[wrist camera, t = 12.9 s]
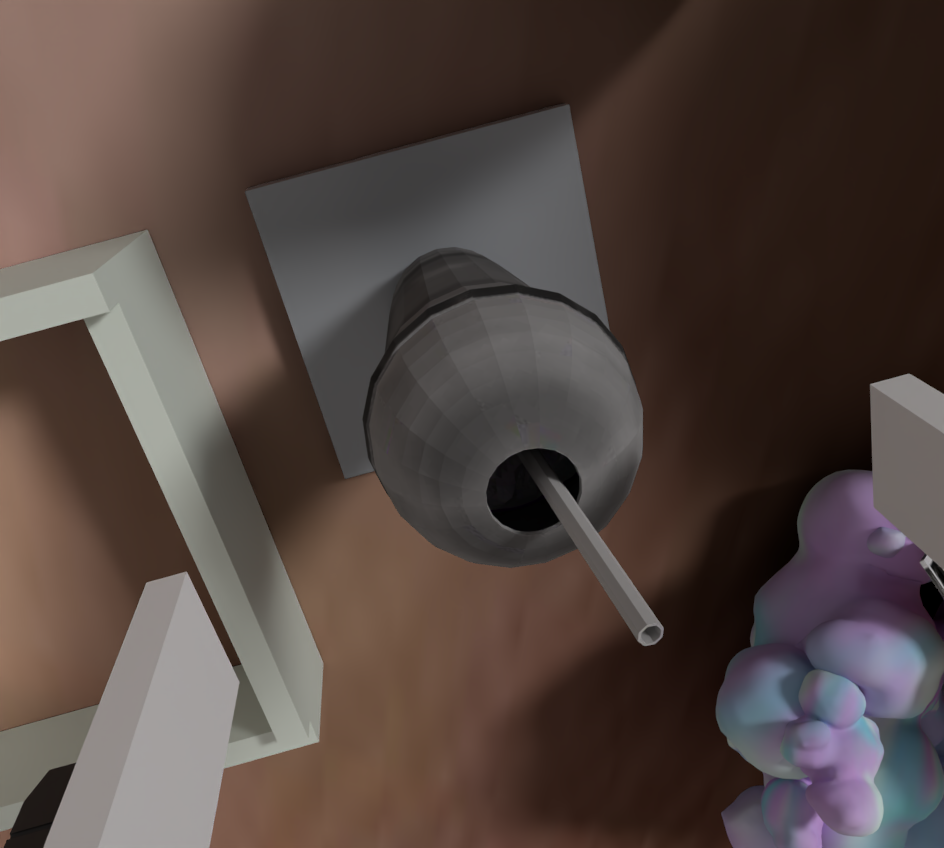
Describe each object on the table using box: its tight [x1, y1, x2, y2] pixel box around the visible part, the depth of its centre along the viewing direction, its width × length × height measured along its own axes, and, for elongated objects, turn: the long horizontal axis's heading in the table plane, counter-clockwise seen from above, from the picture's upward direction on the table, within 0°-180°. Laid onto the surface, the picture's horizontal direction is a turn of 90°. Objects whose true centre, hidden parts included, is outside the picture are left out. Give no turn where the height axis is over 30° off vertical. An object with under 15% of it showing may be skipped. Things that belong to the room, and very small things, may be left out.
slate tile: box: [245, 103, 610, 479], centre depth 33 cm, size 12×12×1 cm
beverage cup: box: [362, 247, 664, 646], centre depth 23 cm, size 7×7×20 cm
